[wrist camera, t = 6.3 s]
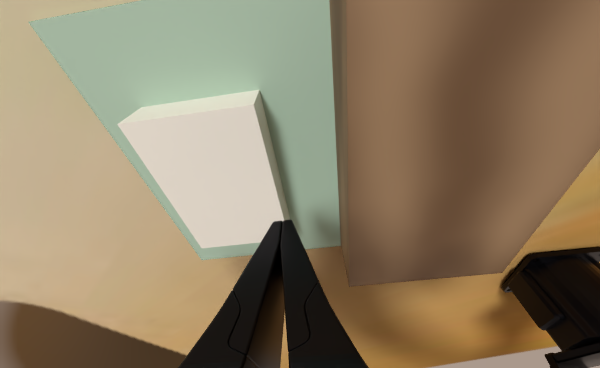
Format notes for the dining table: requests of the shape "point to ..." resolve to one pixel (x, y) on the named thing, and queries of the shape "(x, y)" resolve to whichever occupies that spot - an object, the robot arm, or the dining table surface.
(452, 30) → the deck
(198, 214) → the white block
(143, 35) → the mat
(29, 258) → the dining table surface
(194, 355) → the robot arm
